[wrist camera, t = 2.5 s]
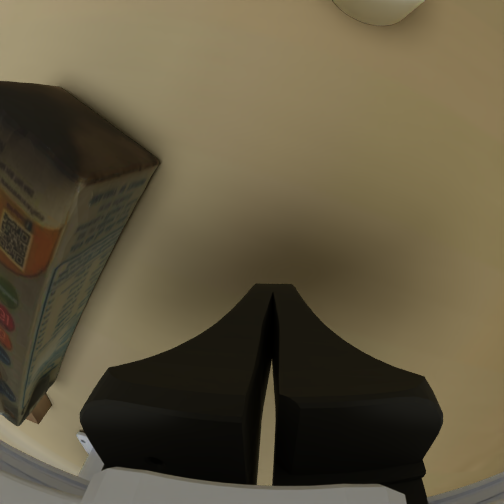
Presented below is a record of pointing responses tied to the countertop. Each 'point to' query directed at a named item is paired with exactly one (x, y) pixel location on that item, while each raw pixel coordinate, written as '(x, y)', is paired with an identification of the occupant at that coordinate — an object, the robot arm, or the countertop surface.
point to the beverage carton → (55, 227)
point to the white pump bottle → (378, 10)
